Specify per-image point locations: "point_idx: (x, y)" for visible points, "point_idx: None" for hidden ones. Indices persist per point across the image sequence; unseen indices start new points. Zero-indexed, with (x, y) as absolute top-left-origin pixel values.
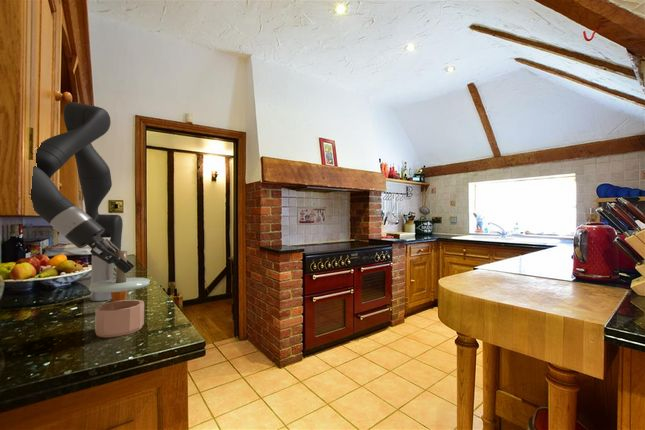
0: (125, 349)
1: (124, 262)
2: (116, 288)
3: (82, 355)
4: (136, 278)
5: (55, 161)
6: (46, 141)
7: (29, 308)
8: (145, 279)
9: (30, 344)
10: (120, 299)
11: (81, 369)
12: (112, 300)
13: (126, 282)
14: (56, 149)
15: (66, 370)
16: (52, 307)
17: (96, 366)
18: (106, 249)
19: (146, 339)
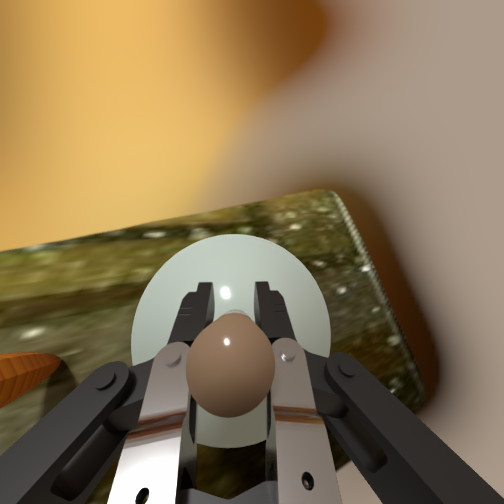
0: (335, 282)
1: (274, 315)
2: (327, 316)
3: (342, 342)
4: (166, 286)
5: None
6: None
7: None
8: (205, 250)
9: (259, 475)
10: (43, 363)
11: (390, 324)
12: (30, 389)
13: (245, 305)
14: None
15: (389, 344)
16: None
17: (384, 307)
18: (459, 502)
19: (301, 258)
